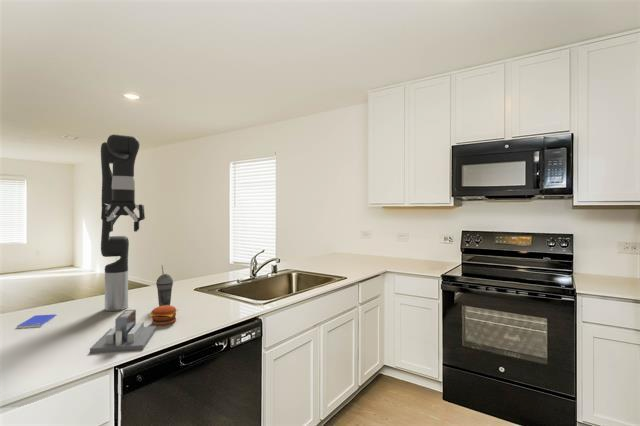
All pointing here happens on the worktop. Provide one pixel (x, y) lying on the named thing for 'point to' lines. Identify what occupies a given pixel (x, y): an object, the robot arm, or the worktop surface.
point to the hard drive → (37, 321)
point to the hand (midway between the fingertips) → (123, 231)
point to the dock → (135, 341)
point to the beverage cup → (164, 289)
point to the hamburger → (163, 315)
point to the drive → (125, 323)
